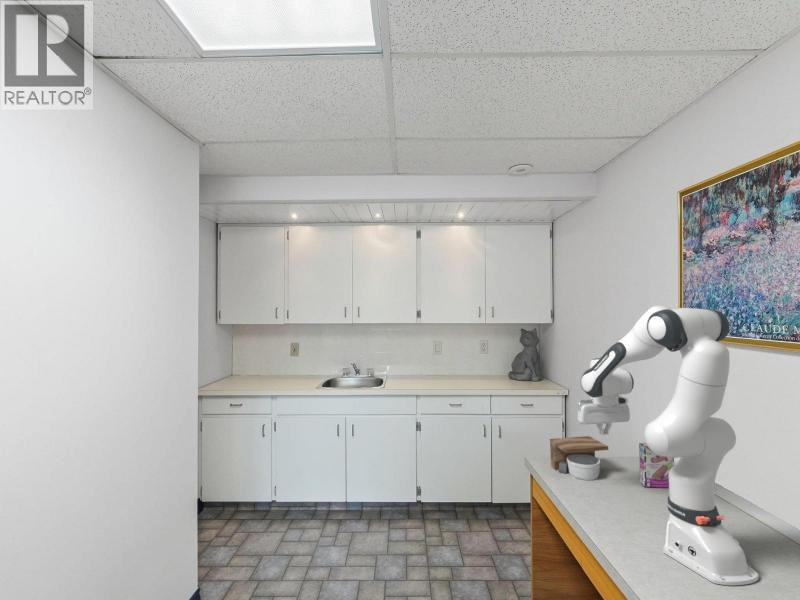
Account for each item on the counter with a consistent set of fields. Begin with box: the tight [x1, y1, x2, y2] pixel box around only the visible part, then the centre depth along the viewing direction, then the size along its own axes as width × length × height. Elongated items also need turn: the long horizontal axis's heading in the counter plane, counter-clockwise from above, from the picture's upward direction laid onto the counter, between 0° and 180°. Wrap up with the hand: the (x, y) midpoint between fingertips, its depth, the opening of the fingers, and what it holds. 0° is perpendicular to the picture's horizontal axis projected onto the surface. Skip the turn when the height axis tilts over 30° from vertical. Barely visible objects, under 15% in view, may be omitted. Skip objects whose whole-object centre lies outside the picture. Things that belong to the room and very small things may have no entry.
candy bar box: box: [638, 442, 675, 489], centre depth 163 cm, size 11×5×16 cm, turn 84°
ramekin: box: [567, 454, 601, 481], centre depth 175 cm, size 13×13×7 cm
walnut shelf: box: [549, 435, 609, 475], centre depth 179 cm, size 14×19×12 cm
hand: (604, 434), depth 160 cm, fingers closed
